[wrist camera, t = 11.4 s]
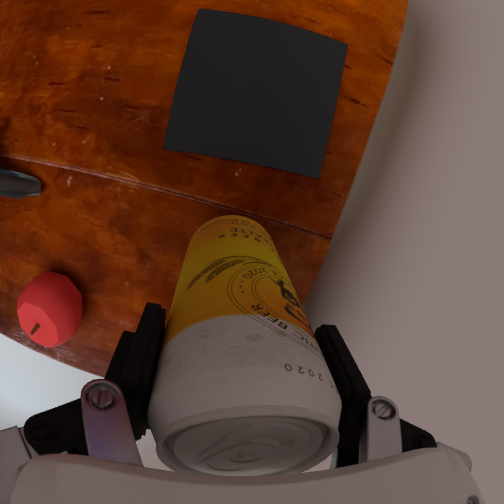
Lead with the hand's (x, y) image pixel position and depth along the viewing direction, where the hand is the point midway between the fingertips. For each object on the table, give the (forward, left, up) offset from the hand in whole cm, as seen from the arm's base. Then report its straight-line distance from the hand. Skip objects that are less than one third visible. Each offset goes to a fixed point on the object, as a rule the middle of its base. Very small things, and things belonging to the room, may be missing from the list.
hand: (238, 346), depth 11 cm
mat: (-13, 0, -16) cm, 21 cm away
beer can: (0, 0, -10) cm, 10 cm away
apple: (+11, -18, -16) cm, 27 cm away
